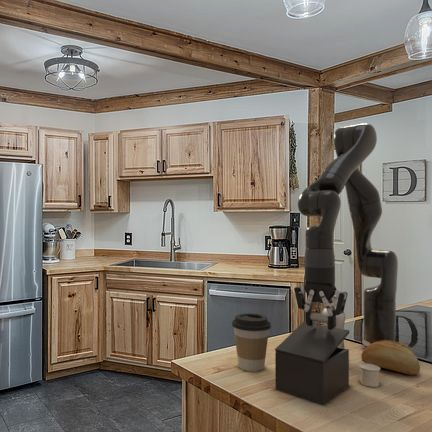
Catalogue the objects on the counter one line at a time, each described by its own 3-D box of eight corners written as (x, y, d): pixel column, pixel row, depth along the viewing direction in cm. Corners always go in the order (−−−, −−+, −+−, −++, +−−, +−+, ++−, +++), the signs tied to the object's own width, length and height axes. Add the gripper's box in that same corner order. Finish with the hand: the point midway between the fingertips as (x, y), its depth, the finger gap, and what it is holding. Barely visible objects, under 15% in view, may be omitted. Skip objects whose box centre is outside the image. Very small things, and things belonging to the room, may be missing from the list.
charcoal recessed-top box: (303, 373, 123) (303, 339, 123) (348, 386, 114) (348, 349, 113) (275, 389, 112) (275, 352, 112) (323, 405, 103) (323, 364, 103)
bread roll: (365, 359, 134) (365, 333, 134) (422, 370, 124) (422, 342, 124) (358, 367, 126) (358, 340, 126) (417, 380, 117) (417, 351, 117)
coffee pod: (357, 379, 118) (357, 362, 118) (377, 380, 117) (377, 364, 117) (361, 386, 114) (361, 369, 113) (382, 388, 112) (382, 371, 112)
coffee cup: (278, 366, 128) (277, 316, 128) (259, 377, 120) (259, 324, 120) (244, 357, 136) (243, 310, 136) (224, 367, 127) (224, 317, 127)
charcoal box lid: (303, 324, 123) (301, 307, 122) (349, 332, 114) (347, 314, 113) (275, 351, 112) (272, 333, 111) (323, 363, 103) (320, 344, 102)
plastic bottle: (348, 367, 127) (348, 300, 127) (324, 366, 128) (324, 299, 128) (343, 360, 133) (342, 295, 133) (319, 358, 134) (319, 295, 134)
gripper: (352, 265, 113) (353, 329, 113) (300, 261, 123) (301, 319, 124) (341, 268, 108) (341, 335, 108) (287, 263, 118) (288, 325, 119)
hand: (320, 327), depth 116 cm, fingers closed on charcoal box lid, 5 cm apart
